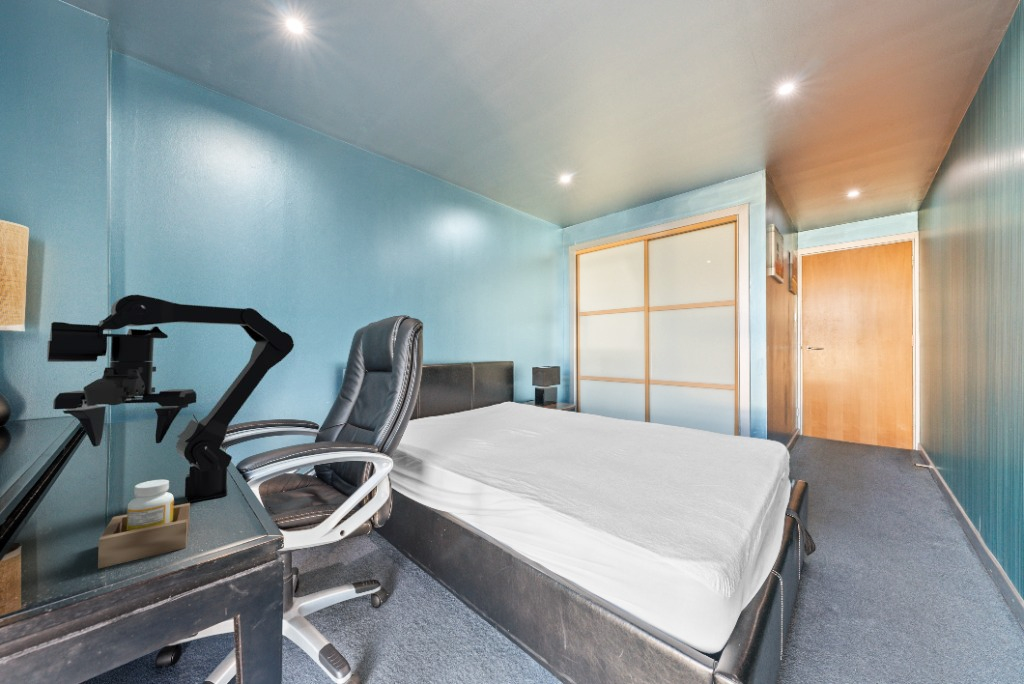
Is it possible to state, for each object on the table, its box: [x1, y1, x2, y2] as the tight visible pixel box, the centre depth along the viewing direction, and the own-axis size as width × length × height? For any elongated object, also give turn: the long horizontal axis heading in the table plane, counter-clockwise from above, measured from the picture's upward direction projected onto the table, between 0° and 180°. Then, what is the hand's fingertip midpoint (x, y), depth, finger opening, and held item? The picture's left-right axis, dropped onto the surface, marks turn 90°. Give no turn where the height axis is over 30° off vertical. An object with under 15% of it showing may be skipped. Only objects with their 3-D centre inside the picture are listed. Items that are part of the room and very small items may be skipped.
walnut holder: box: [97, 502, 191, 570], centre depth 60 cm, size 9×9×4 cm
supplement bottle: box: [126, 479, 175, 531], centre depth 60 cm, size 5×5×10 cm
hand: (128, 444), depth 71 cm, fingers open, 9 cm apart
